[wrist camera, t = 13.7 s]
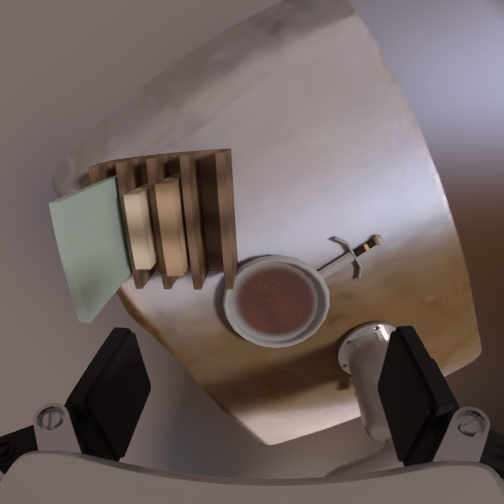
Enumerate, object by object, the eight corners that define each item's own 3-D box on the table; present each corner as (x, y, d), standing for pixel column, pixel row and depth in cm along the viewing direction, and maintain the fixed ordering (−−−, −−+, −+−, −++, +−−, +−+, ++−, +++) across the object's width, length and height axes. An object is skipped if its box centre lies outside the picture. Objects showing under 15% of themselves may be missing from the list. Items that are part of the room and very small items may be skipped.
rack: (238, 267, 50) (233, 289, 43) (128, 268, 51) (110, 287, 45) (230, 148, 43) (223, 152, 36) (111, 160, 44) (88, 167, 38)
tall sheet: (143, 259, 49) (90, 322, 32) (134, 259, 49) (79, 321, 33) (130, 171, 44) (59, 201, 27) (121, 173, 44) (48, 203, 27)
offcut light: (168, 247, 48) (150, 269, 41) (154, 247, 48) (135, 269, 41) (160, 182, 44) (139, 194, 37) (146, 183, 44) (123, 195, 37)
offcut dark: (196, 252, 48) (183, 276, 41) (182, 252, 48) (167, 276, 41) (188, 173, 44) (172, 183, 36) (173, 174, 44) (154, 184, 36)
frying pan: (406, 282, 47) (262, 364, 54) (399, 274, 50) (262, 354, 56) (358, 192, 42) (199, 295, 49) (352, 188, 45) (202, 286, 52)
